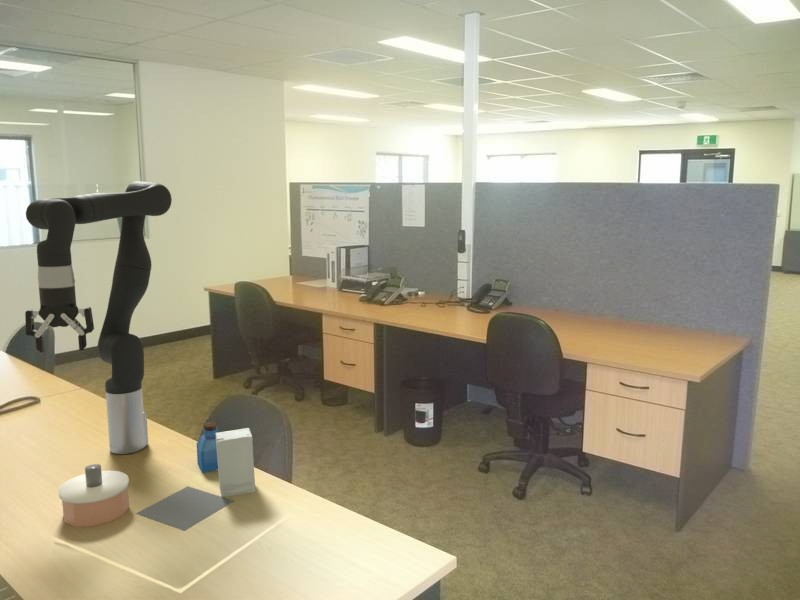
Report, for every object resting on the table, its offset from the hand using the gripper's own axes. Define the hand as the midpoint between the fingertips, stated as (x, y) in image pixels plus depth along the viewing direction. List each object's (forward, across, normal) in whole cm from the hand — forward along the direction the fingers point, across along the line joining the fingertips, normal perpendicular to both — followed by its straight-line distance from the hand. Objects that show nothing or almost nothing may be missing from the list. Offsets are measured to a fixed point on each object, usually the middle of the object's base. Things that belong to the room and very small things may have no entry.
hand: (62, 351), depth 151 cm
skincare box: (+33, +39, -18) cm, 54 cm away
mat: (+33, +28, -23) cm, 49 cm away
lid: (+28, +8, -20) cm, 35 cm away
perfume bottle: (+33, +33, -2) cm, 47 cm away
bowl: (+33, +8, -20) cm, 39 cm away
